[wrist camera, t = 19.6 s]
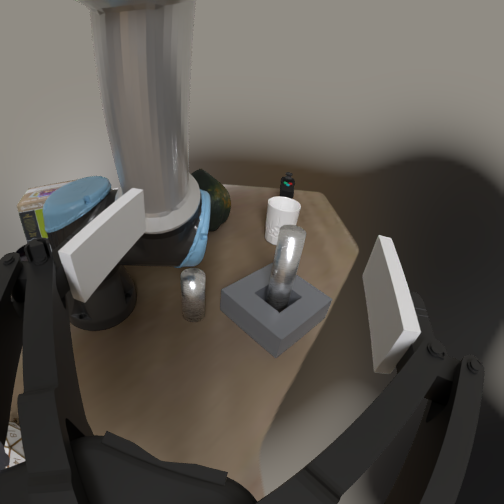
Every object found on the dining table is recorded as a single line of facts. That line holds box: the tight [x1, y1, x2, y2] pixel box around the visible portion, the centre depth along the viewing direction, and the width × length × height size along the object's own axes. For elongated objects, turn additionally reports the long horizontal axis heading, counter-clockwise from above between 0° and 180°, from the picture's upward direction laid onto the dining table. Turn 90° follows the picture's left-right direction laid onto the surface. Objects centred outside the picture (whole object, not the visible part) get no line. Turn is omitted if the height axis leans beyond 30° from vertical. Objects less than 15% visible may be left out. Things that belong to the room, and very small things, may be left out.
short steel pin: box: [181, 268, 205, 322], centre depth 50 cm, size 4×4×9 cm
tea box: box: [17, 180, 75, 251], centre depth 59 cm, size 15×10×15 cm, turn 110°
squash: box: [191, 169, 231, 231], centre depth 75 cm, size 14×15×15 cm
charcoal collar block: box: [220, 263, 332, 358], centre depth 53 cm, size 14×14×5 cm
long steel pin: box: [266, 225, 306, 313], centre depth 49 cm, size 4×4×18 cm
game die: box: [4, 418, 25, 469], centre depth 22 cm, size 9×8×10 cm
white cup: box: [265, 196, 301, 245], centre depth 73 cm, size 8×8×10 cm
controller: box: [280, 172, 295, 198], centre depth 88 cm, size 4×12×10 cm, turn 173°
